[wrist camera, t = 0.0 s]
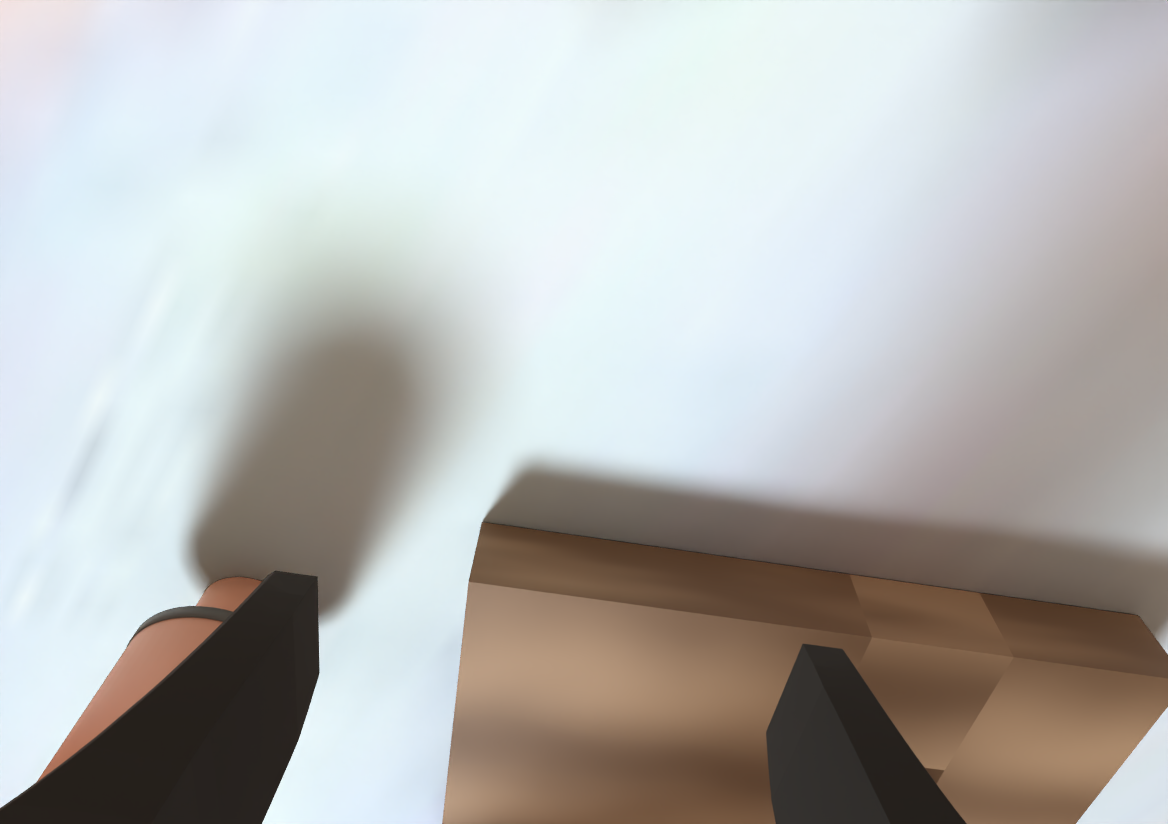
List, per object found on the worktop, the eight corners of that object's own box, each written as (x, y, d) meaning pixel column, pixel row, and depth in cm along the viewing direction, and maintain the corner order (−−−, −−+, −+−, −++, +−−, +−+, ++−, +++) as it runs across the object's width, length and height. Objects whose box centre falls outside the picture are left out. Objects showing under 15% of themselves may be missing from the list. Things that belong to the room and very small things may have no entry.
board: (959, 872, 32) (983, 940, 30) (449, 808, 31) (436, 874, 29) (1138, 615, 25) (1187, 681, 23) (482, 522, 24) (468, 581, 22)
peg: (329, 676, 28) (200, 1019, 19) (176, 656, 27) (-25, 994, 19) (328, 563, 25) (177, 902, 16) (159, 540, 25) (-84, 872, 16)
